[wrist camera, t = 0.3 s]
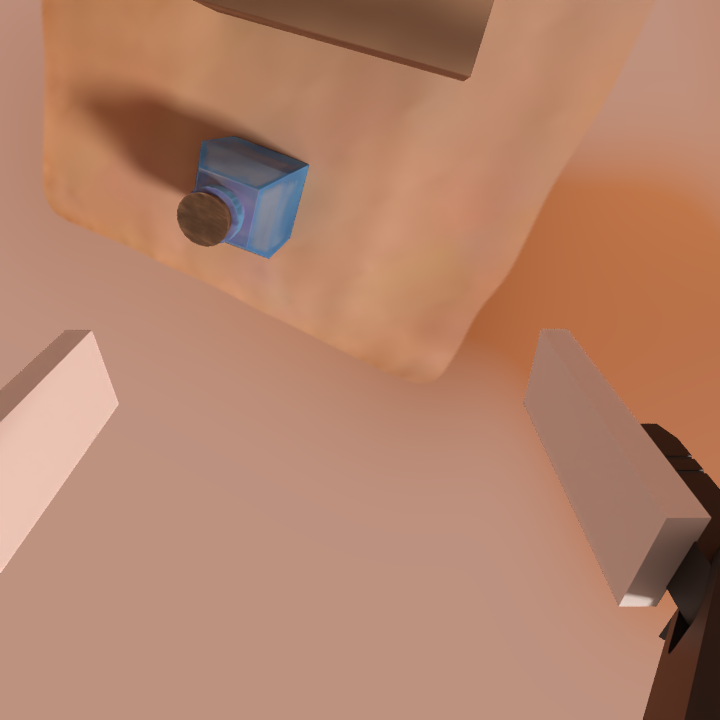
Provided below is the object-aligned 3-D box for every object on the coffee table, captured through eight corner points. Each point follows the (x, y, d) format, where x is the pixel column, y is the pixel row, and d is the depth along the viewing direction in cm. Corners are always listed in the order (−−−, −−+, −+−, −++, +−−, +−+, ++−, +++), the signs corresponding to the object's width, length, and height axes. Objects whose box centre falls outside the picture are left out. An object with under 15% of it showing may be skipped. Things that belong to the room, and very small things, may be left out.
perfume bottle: (220, 212, 39) (147, 250, 29) (234, 136, 36) (158, 147, 26) (289, 238, 40) (241, 284, 29) (309, 164, 37) (263, 187, 26)
